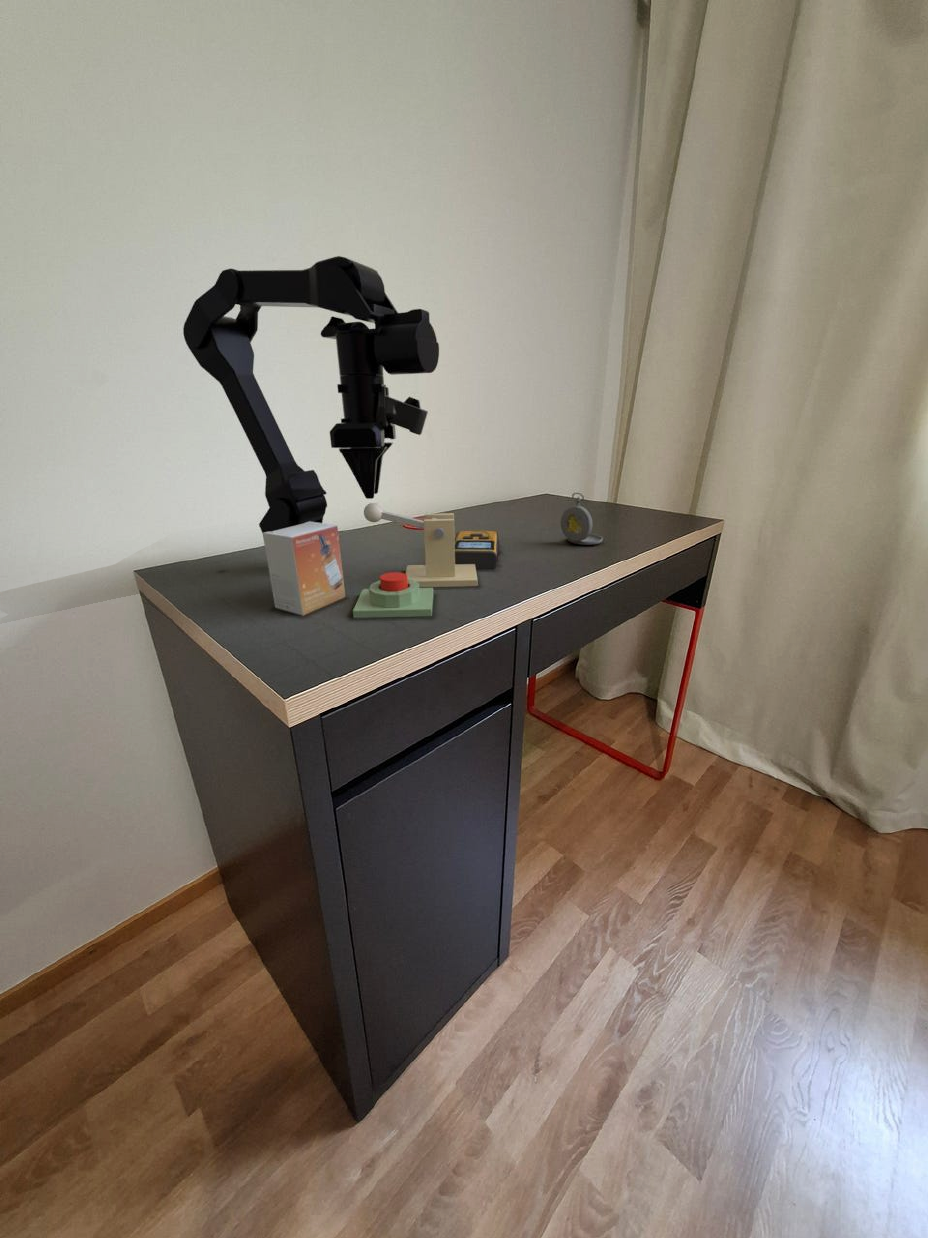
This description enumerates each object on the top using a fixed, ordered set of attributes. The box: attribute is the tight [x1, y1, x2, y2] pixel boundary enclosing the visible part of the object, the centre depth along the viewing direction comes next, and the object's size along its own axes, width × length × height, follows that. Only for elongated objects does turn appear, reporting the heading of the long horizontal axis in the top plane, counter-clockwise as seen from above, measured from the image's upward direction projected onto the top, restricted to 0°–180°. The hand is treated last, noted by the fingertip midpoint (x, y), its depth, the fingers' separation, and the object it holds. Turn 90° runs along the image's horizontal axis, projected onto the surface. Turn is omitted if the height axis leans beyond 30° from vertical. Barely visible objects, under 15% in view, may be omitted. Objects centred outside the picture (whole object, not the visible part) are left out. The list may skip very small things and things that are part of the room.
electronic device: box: [454, 530, 500, 570], centre depth 87 cm, size 8×16×3 cm, turn 176°
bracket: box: [405, 512, 479, 588], centre depth 74 cm, size 11×8×10 cm
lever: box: [363, 502, 437, 530], centre depth 72 cm, size 13×3×3 cm, turn 91°
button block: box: [352, 579, 434, 619], centre depth 65 cm, size 10×8×3 cm
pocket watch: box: [560, 492, 604, 546], centre depth 93 cm, size 8×8×10 cm
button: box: [379, 571, 408, 592], centre depth 65 cm, size 4×4×2 cm
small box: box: [262, 521, 346, 616], centre depth 65 cm, size 8×6×10 cm
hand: (372, 495), depth 71 cm, fingers open, 4 cm apart
